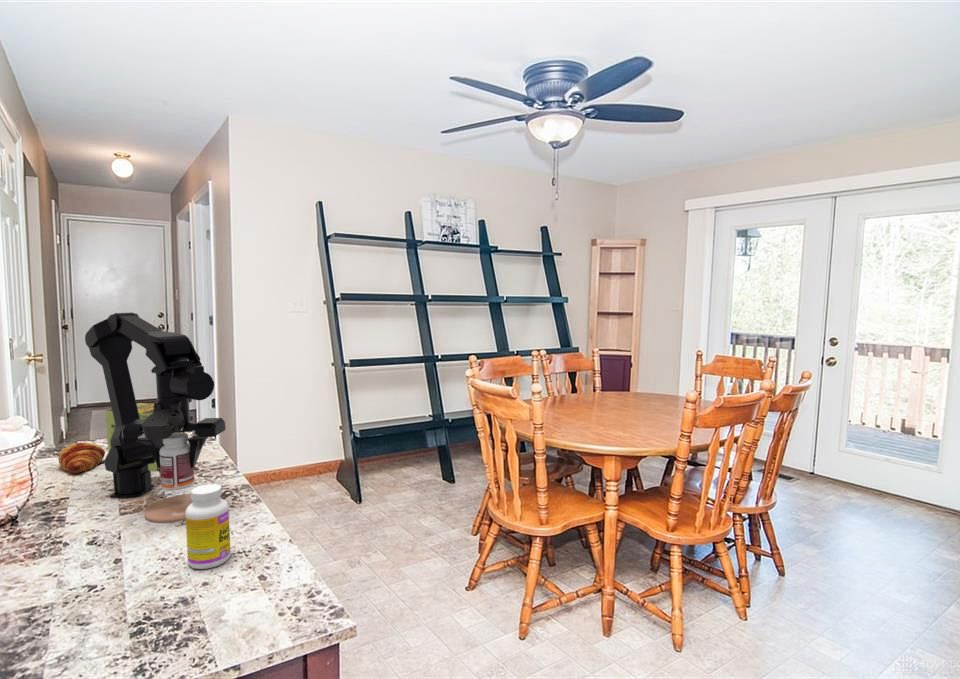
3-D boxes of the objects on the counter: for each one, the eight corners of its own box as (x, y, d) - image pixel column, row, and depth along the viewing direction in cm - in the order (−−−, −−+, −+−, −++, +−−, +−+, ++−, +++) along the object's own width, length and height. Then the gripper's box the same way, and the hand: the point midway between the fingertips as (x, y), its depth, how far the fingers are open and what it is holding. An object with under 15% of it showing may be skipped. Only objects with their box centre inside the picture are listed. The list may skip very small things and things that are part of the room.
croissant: (73, 469, 154) (54, 447, 151) (110, 447, 158) (92, 425, 156) (66, 490, 136) (45, 465, 133) (108, 465, 140) (88, 441, 138)
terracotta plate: (131, 523, 109) (130, 519, 109) (164, 498, 122) (164, 494, 122) (197, 521, 110) (197, 516, 109) (223, 497, 122) (223, 492, 122)
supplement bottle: (224, 569, 91) (220, 495, 90) (182, 572, 90) (177, 497, 89) (235, 550, 97) (232, 480, 96) (196, 553, 96) (192, 483, 95)
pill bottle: (195, 479, 119) (192, 430, 118) (194, 488, 114) (191, 437, 113) (162, 483, 117) (160, 433, 116) (159, 493, 111) (157, 440, 110)
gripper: (102, 404, 105) (107, 482, 106) (201, 402, 106) (205, 480, 107) (135, 392, 116) (139, 463, 117) (224, 391, 117) (228, 462, 118)
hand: (177, 467), depth 115 cm, fingers closed on pill bottle, 6 cm apart
